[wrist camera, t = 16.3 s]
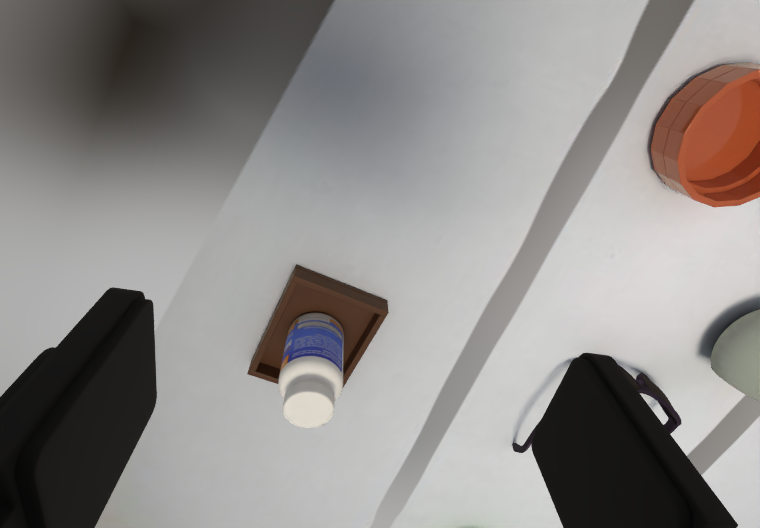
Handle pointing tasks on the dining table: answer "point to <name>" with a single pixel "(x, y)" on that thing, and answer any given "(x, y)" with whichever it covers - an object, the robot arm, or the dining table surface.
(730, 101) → the bowl
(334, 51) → the dining table surface
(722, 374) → the air freshener
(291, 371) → the pill bottle
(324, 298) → the tray
